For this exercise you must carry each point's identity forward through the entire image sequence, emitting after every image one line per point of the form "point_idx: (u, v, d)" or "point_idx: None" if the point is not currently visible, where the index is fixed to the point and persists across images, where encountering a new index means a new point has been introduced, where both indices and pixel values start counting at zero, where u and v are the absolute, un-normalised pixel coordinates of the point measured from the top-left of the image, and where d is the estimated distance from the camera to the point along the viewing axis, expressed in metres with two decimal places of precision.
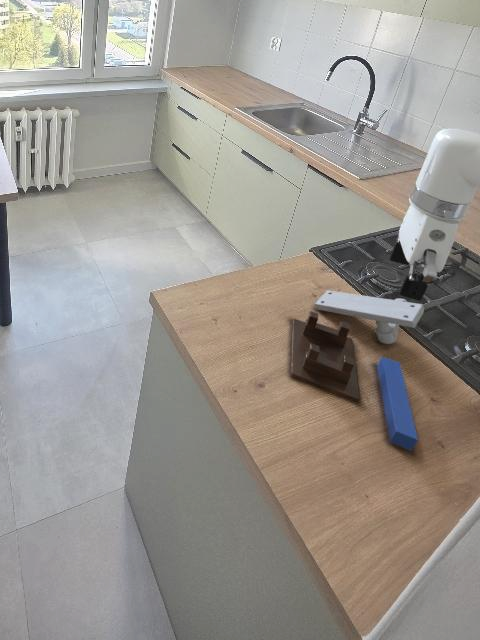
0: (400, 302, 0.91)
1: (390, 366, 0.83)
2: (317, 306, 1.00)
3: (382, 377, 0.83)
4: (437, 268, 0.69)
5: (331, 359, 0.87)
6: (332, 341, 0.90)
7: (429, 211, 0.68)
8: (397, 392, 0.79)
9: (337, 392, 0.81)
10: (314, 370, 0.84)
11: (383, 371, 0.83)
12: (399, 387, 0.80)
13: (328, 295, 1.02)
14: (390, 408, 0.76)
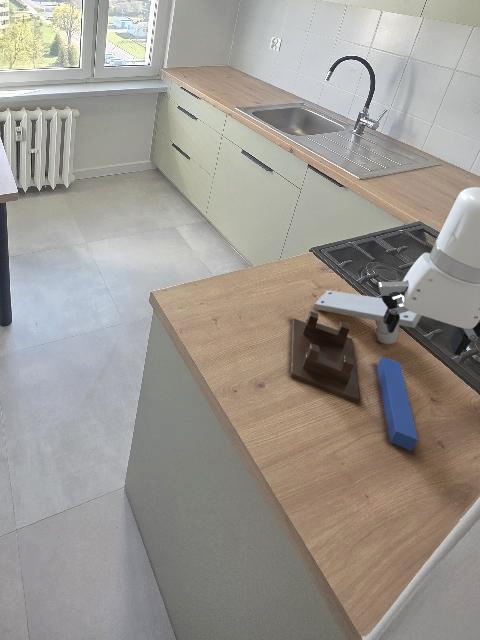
0: None
1: (390, 366, 0.83)
2: (317, 306, 1.00)
3: (382, 377, 0.83)
4: None
5: (331, 359, 0.87)
6: (332, 341, 0.90)
7: None
8: (397, 392, 0.79)
9: (337, 392, 0.81)
10: (314, 370, 0.84)
11: (383, 371, 0.83)
12: (399, 387, 0.80)
13: (328, 295, 1.02)
14: (390, 408, 0.76)
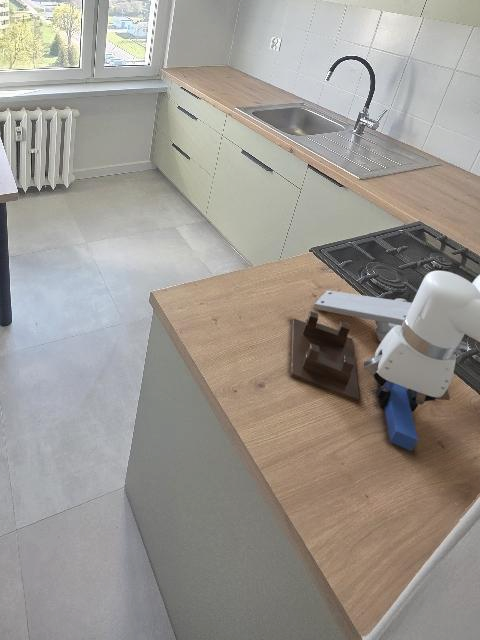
0: (400, 302, 0.91)
1: None
2: (317, 306, 1.00)
3: None
4: None
5: (331, 359, 0.87)
6: (332, 341, 0.90)
7: (452, 355, 0.70)
8: (397, 392, 0.79)
9: (337, 392, 0.81)
10: (314, 370, 0.84)
11: None
12: (399, 387, 0.80)
13: (328, 295, 1.02)
14: (390, 408, 0.76)
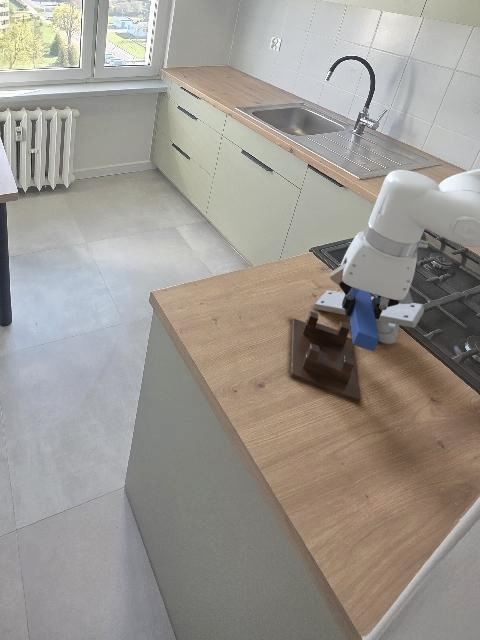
0: None
1: None
2: (317, 306, 1.00)
3: None
4: None
5: (331, 359, 0.87)
6: (332, 341, 0.90)
7: (413, 253, 0.70)
8: (362, 301, 0.79)
9: (337, 392, 0.81)
10: (314, 370, 0.84)
11: None
12: (365, 297, 0.80)
13: (328, 295, 1.02)
14: (354, 314, 0.77)
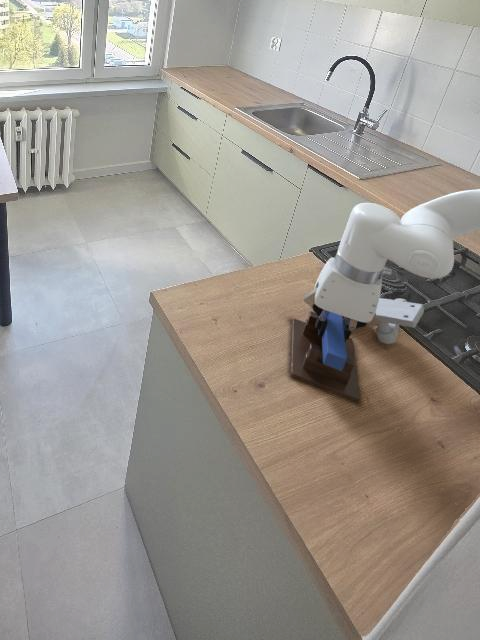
0: (401, 302, 0.91)
1: None
2: None
3: None
4: None
5: None
6: None
7: (377, 280, 0.75)
8: (333, 322, 0.84)
9: (337, 392, 0.81)
10: (314, 370, 0.84)
11: None
12: (336, 318, 0.85)
13: None
14: (325, 335, 0.82)
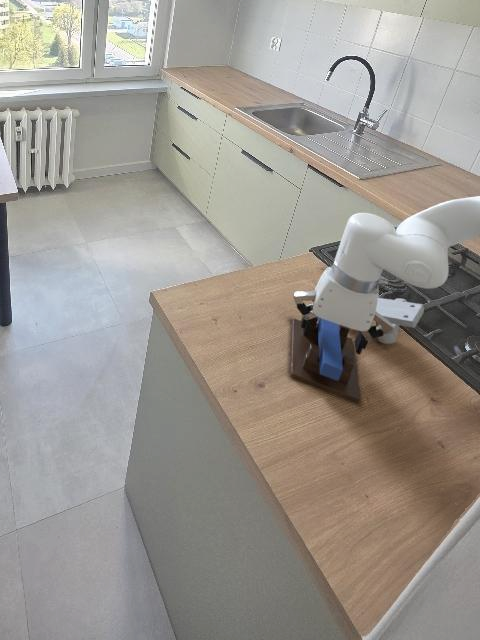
0: (400, 302, 0.91)
1: None
2: None
3: (319, 321, 0.90)
4: None
5: None
6: None
7: (374, 289, 0.76)
8: (330, 332, 0.86)
9: (337, 392, 0.81)
10: (314, 370, 0.84)
11: None
12: (333, 328, 0.87)
13: None
14: (322, 345, 0.83)
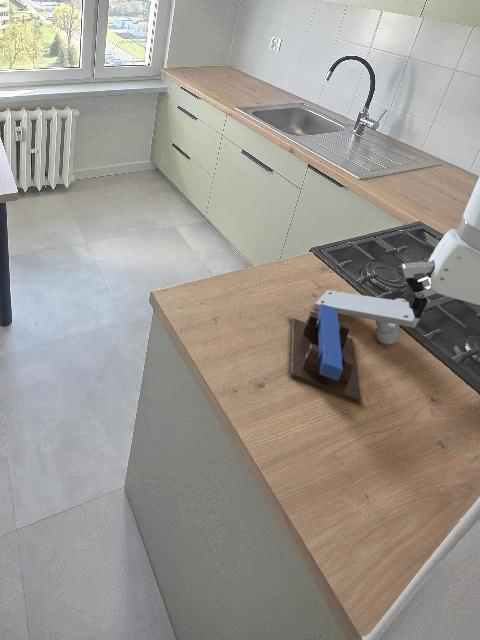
0: (401, 302, 0.91)
1: (327, 311, 0.90)
2: (317, 306, 1.00)
3: (319, 321, 0.90)
4: None
5: None
6: None
7: None
8: (330, 332, 0.86)
9: (337, 392, 0.81)
10: (314, 370, 0.84)
11: (320, 316, 0.90)
12: (333, 328, 0.87)
13: (328, 295, 1.02)
14: (322, 345, 0.83)
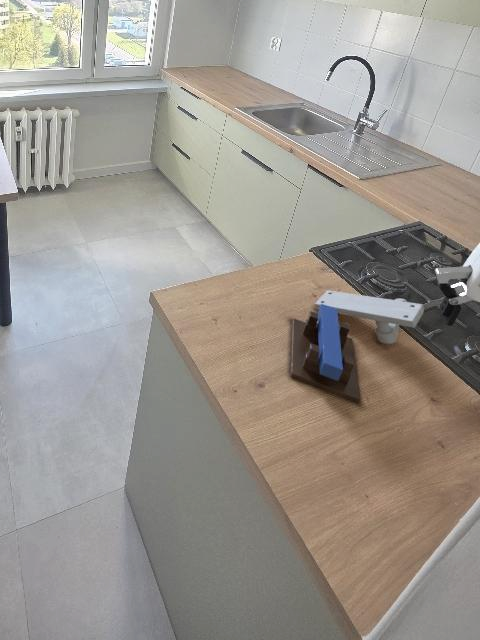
0: (400, 302, 0.91)
1: (327, 311, 0.90)
2: (317, 306, 1.00)
3: (319, 321, 0.90)
4: None
5: None
6: None
7: None
8: (330, 332, 0.86)
9: (337, 392, 0.81)
10: (314, 370, 0.84)
11: (320, 316, 0.90)
12: (333, 328, 0.87)
13: (328, 295, 1.02)
14: (322, 345, 0.83)
